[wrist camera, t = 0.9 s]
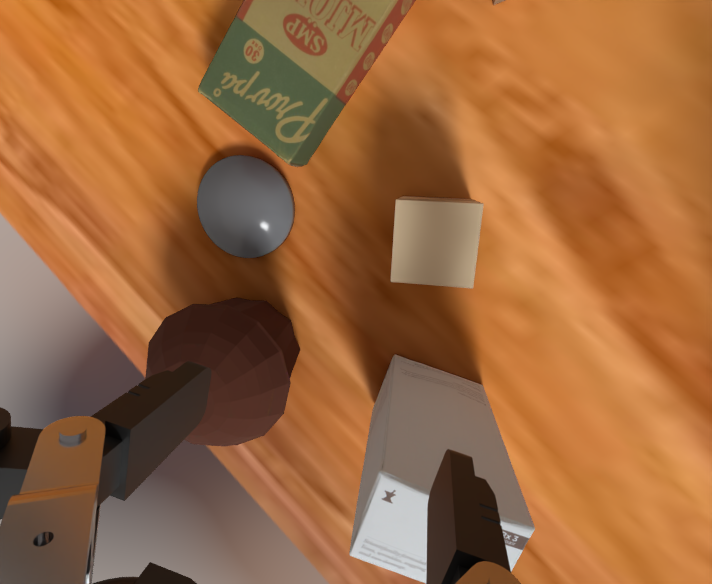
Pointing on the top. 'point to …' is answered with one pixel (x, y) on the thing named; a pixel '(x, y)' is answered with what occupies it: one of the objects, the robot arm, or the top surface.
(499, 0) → the walnut block
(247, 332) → the muffin
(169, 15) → the top surface
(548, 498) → the top surface
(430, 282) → the oak block
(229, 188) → the grey disc
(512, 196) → the top surface
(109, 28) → the top surface
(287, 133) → the carton
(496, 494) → the skincare box
